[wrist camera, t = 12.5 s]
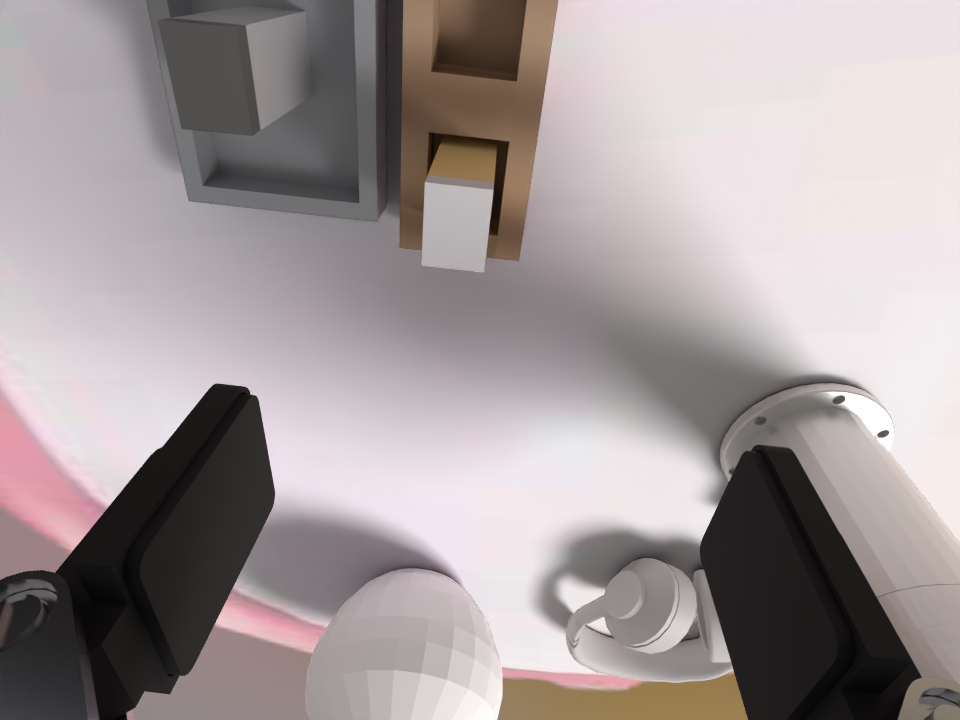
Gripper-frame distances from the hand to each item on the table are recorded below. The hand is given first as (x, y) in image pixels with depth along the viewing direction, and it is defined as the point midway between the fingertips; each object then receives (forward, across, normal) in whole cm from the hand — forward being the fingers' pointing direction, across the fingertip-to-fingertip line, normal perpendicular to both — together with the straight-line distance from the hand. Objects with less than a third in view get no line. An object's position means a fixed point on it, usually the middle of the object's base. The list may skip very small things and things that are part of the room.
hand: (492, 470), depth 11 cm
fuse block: (+26, +3, -3) cm, 26 cm away
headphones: (+29, -20, +45) cm, 57 cm away
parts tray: (+26, +13, -4) cm, 29 cm away
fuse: (+25, +3, +1) cm, 25 cm away
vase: (+28, +5, +47) cm, 55 cm away
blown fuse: (+25, +13, -4) cm, 29 cm away
